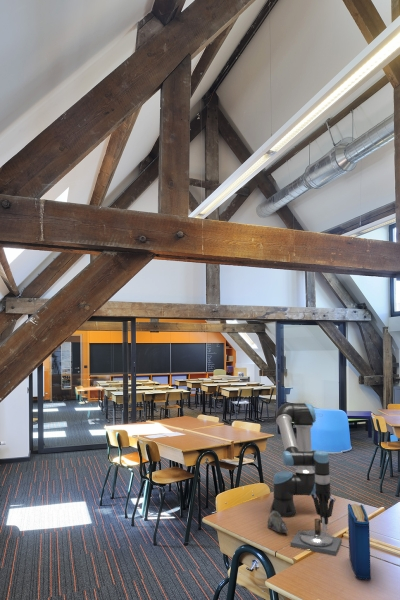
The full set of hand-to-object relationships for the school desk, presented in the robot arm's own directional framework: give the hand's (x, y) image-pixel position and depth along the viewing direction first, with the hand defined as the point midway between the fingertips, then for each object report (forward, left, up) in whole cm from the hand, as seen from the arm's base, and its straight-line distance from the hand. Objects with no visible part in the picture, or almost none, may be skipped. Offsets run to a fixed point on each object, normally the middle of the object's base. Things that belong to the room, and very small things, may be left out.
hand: (324, 530), depth 226 cm
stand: (+6, -3, -6) cm, 8 cm away
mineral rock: (-1, -26, -6) cm, 26 cm away
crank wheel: (+6, -3, -4) cm, 7 cm away
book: (+23, +20, -6) cm, 31 cm away
